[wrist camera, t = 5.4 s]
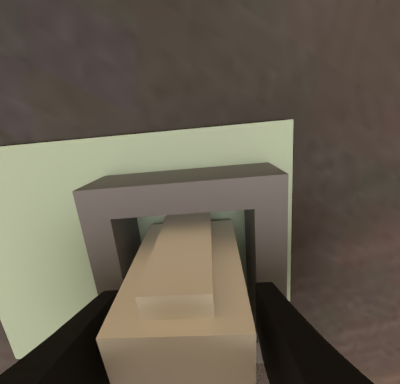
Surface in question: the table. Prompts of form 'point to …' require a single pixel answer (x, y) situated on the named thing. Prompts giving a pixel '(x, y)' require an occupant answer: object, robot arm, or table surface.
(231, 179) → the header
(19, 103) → the table surface
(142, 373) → the plug
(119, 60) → the table surface
